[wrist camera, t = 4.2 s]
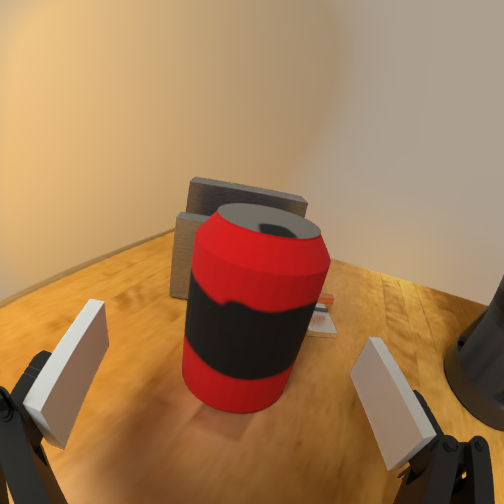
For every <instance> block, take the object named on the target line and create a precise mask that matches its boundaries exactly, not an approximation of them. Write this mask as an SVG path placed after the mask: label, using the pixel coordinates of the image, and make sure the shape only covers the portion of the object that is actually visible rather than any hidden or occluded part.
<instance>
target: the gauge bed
mask: <svg viewBox="0 0 504 504" xmlns="http://www.w3.org/2000/svg"><path fill="white" fill-rule="evenodd" d="M232 203H245V204H255V205H262V206H267V207H272V208H276V209H280V210H283V211H287V212H290V213H293V214H296V215H298V216H301V217H303V218H304V217H305V213H306V208H307V205H308V203H307V202H306V201H305V200H304V199H303V198H302V197H301V196H297V195H293V194H288V193H283V192H278V191H273V190H268V189H263V188H258V187H252V186H247V185H241V184H236V183H230V182H224V181H218V180H212V179H206V178H199V177H194V178H193V179H192V180H191V181H190V186H189V193H188V200H187V207H186V213H192V214H198V215H205V216H212V215H213V214H214V213H215V212H216V211H217V210H218V208H219V207H220V206H222V205H225V204H232ZM306 333H307V336H315V337H328V338H336V336H337V331H336V329H335V326H334V324H333V322H332V320H331V318H330V316H329V313H328V310H327V308H326V307H325V305H324V304H319V303H317V304H316V307H315V310H314V313H313V315H312V318H311V321H310V323H309V326H308V329H307V331H306Z"/></svg>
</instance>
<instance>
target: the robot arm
mask: <svg viewBox="0 0 504 504" xmlns="http://www.w3.org/2000/svg"><path fill="white" fill-rule="evenodd" d="M108 347H109V340H108V332H107V323H106V314H105V303H104V302H103V301H99V300H95V299H90V300H89V301H88V302H87V304H86V305H85V307H84V308H83V309H82V311H81V312H80V313H79V315H78V316H77V318H76V319H75V320H74V322H73V323H72V325H71V326H70V328H69V329H68V331H67V332H66V333H65V335H64V336H63V338H62V339H61V341H60V342H59V344H58V345H57V347H56V348H55V350H54V351H53V353H50V352H47V351H44V350H43V351H41V352H40V353H38V354H37V355H36V356H34V358H33V359H32V361H31V362H30V364H29V366H28V367H27V368H26V370H25V371H24V374H22V376H21V377H20V379H19V381H18V382H17V384H16V385H15V387H14V389H13V390H12V392H11V394H9V392H8V391H7V390H6V389H5V388H4V387H2V386H0V504H9V499H8V493H7V486H6V482H7V485H8V488H9V490H10V493H11V496H12V498H13V501H14V503H15V504H68V503H67V501H66V499H65V497H64V495H63V493H62V491H61V489H60V487H59V485H58V483H57V480H56V478H55V476H54V474H53V471H52V469H51V467H50V464H49V462H48V459H47V457H46V454H45V452H44V449H43V446H42V444H41V440H42V438H43V437H44V438H45V440H46V441H47V442H48V443H49V444H51V445H53V446H56V447H58V448H60V449H63V450H64V449H65V447H66V444H67V441H68V438H69V436H70V433H71V431H72V428H73V426H74V423H75V421H76V418H77V416H78V413H79V411H80V408H81V406H82V404H83V401H84V399H85V397H86V394H87V392H88V390H89V387H90V385H91V383H92V381H93V379H94V376H95V374H96V372H97V370H98V368H99V366H100V363H101V361H102V359H103V357H104V355H105V353H106V351H107V349H108ZM444 366H445V372H446V376H447V379H448V381H449V383H450V386H451V387H452V389H453V391H454V393H455V394H456V396H457V397H458V398H459V400H460V401H461V402H462V404H463V405H464V406H465V407H466V408H467V409H468V410H469V411H470V412H471V413H472V414H473V415H474V416H475V417H477V418H478V419H479V420H481V421H482V422H484V423H485V424H487V425H489V426H491V427H493V428H495V429H498V430H501V431H504V275H503V278H502V280H501V282H500V285H499V287H498V289H497V291H496V294H495V296H494V298H493V300H492V302H491V303H490V305H489V306H488V307H487V308H486V309H485V310H484V311H483V312H482V313H481V314H480V315H479V316H478V318H477V319H476V320H475V321H474V322H473V323H472V324H471V325H470V326H469V327H468V328H467V329H466V330H464V331H463V332H462V333H461V334H460V335H459V336H458V337H457V339H456V340H455V341H454V343H453V345H452V346H451V348H450V350H449V351H448V353H447V355H446V357H445V362H444ZM349 374H350V377H351V379H352V381H353V384H354V386H355V388H356V391H357V393H358V396H359V398H360V401H361V403H362V406H363V408H364V410H365V413H366V415H367V418H368V420H369V423H370V425H371V428H372V431H373V433H374V436H375V438H376V441H377V443H378V446H379V449H380V451H381V454H382V457H383V459H384V462H385V465H386V467H387V470H388V471H390V470H394V469H397V468H401V467H402V466H403V465H404V464H406V463H407V462H408V461H409V463H410V466H409V467H408V468H406V469H405V470H404V471H403V472H402V473H400V474H399V476H398V477H397V478H400V477H401V476H403V475H404V474H405V475H404V477H403V478H402V480H403V481H402V483H401V486H400V488H399V491H398V493H397V496H396V498H395V501H394V503H393V504H495V501H494V485H493V474H492V466H491V458H490V452H489V446H488V443H487V441H486V440H485V439H484V438H483V437H481V436H474V437H473V438H472V439H471V440H470V441H469V442H458V441H457V440H456V439H455V438H454V437H453V436H451V435H444V433H443V432H442V430H441V428H440V426H439V424H438V423H437V421H436V419H435V417H434V415H433V414H432V412H431V410H430V408H429V407H428V406H427V403H426V401H425V400H424V398H423V396H422V395H421V394H420V393H418V392H417V391H416V390H412V389H411V387H410V385H409V384H408V382H407V380H406V378H405V377H404V375H403V373H402V372H401V370H400V368H399V367H398V365H397V363H396V362H395V360H394V358H393V357H392V355H391V353H390V352H389V350H388V348H387V347H386V345H385V344H384V342H383V340H382V339H381V337H369V338H368V340H367V342H366V344H365V346H364V348H363V350H362V351H361V353H360V355H359V357H358V359H357V361H356V363H355V364H354V366H353V368H352V370H351V372H350V373H349ZM465 472H466V477H465V478H464V479H462V474H464V473H465Z"/></svg>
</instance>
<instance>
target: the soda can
mask: <svg viewBox="0 0 504 504" xmlns="http://www.w3.org/2000/svg"><path fill="white" fill-rule="evenodd" d="M330 262H331V260H330V256H329V254H328V251H327V248H326V246H325V243H324V241H323V238H322V236H321V230H320V229H319V227H318V226H316V225H315V224H314V223H312V222H311V221H309V220H307V219H305V218H303V217H301V216H298V215H296V214H293V213H290V212H287V211H283V210H280V209H276V208H272V207H267V206H262V205H255V204H245V203H232V204H225V205H222V206H220V207H219V208H218V210H217V211H216V212H215V213H214V214H213V215H212V216H211V217H209V218H208V219H207V220H206V221H205V222H204V223H203V224H202V225H201V226H200V227H199V228H198V229H197V231H196V233H195V240H194V248H193V256H192V264H191V273H190V282H189V291H188V301H187V311H186V322H185V334H184V347H183V361H182V374H183V378H184V381H185V383H186V385H187V386H188V388H189V390H190V391H191V392H192V393H193V394H194V395H195V396H196V397H197V398H198V399H200V400H201V401H203V402H204V403H206V404H207V405H210V406H212V407H214V408H216V409H220V410H223V411H227V412H235V413H247V412H254V411H258V410H261V409H263V408H265V407H268V406H270V405H271V404H272V403H273V402H275V401H276V400H277V399H278V397H279V396H280V395H281V393H282V391H283V388H284V386H285V384H286V381H287V379H288V377H289V374H290V372H291V369H292V367H293V365H294V362H295V360H296V357H297V355H298V352H299V350H300V347H301V344H302V342H303V339H304V337H305V334H306V331H307V329H308V326H309V323H310V321H311V318H312V315H313V313H314V310H315V307H316V304H317V301H318V298H319V296H320V293H321V290H322V287H323V284H324V281H325V278H326V275H327V272H328V269H329V266H330Z"/></svg>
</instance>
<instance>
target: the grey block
mask: <svg viewBox="0 0 504 504" xmlns="http://www.w3.org/2000/svg"><path fill="white" fill-rule="evenodd" d="M209 217H211V216H205V215H198V214H192V213H186V212H180V213H179V215H178V216H177V218H176V226H175V235H174V245H173V255H172V267H171V279H170V294H169V296H173V297H178V298H184V299H188V291H189V282H190V273H191V264H192V256H193V248H194V240H195V233H196V231H197V229H198V228H199V227H200V226H201V225H202V224H203V223H204V222H205V221H206V220H207V219H208V218H209ZM333 301H334V297H333V295H330V294H323V293H320V296H319V298H318V301H317V303H319V304H327V305H332V304H333Z"/></svg>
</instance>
